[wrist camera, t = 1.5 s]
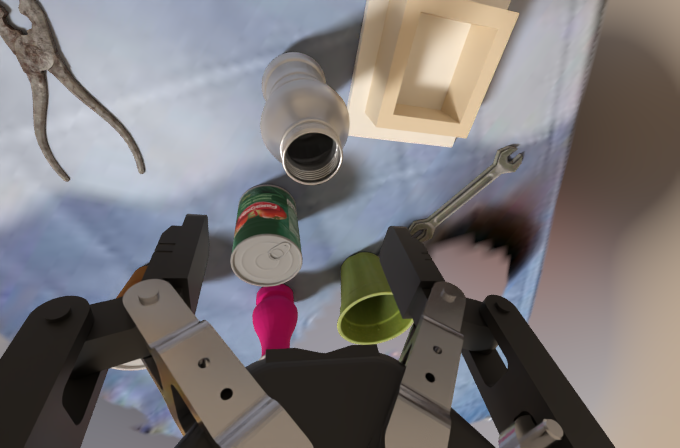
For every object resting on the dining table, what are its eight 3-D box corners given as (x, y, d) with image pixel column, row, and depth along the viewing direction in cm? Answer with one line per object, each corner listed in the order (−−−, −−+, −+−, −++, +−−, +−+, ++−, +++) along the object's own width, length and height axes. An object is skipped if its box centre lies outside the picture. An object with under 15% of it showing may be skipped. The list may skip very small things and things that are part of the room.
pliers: (74, 194, 37) (-115, -10, 25) (78, 191, 38) (-105, -10, 25) (152, 172, 37) (2, -45, 25) (154, 168, 38) (9, -44, 25)
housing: (377, -59, 28) (398, -69, 24) (513, -21, 32) (555, -23, 27) (342, 132, 39) (352, 152, 34) (448, 144, 42) (470, 163, 38)
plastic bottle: (249, 67, 33) (230, 139, 17) (306, 35, 32) (342, 80, 16) (281, 121, 37) (289, 220, 21) (333, 94, 36) (381, 176, 20)
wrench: (521, 158, 46) (526, 162, 46) (418, 242, 53) (421, 247, 52) (508, 138, 44) (513, 142, 43) (401, 229, 51) (404, 233, 50)
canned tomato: (270, 239, 47) (270, 296, 38) (226, 210, 42) (214, 267, 34) (307, 206, 44) (316, 259, 36) (264, 172, 40) (262, 222, 31)
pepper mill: (259, 277, 51) (254, 406, 35) (301, 284, 54) (314, 406, 38) (249, 306, 55) (240, 433, 39) (288, 310, 57) (295, 432, 42)
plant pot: (396, 235, 51) (422, 287, 42) (390, 284, 58) (411, 337, 49) (324, 244, 49) (336, 300, 40) (327, 294, 56) (338, 350, 48)
